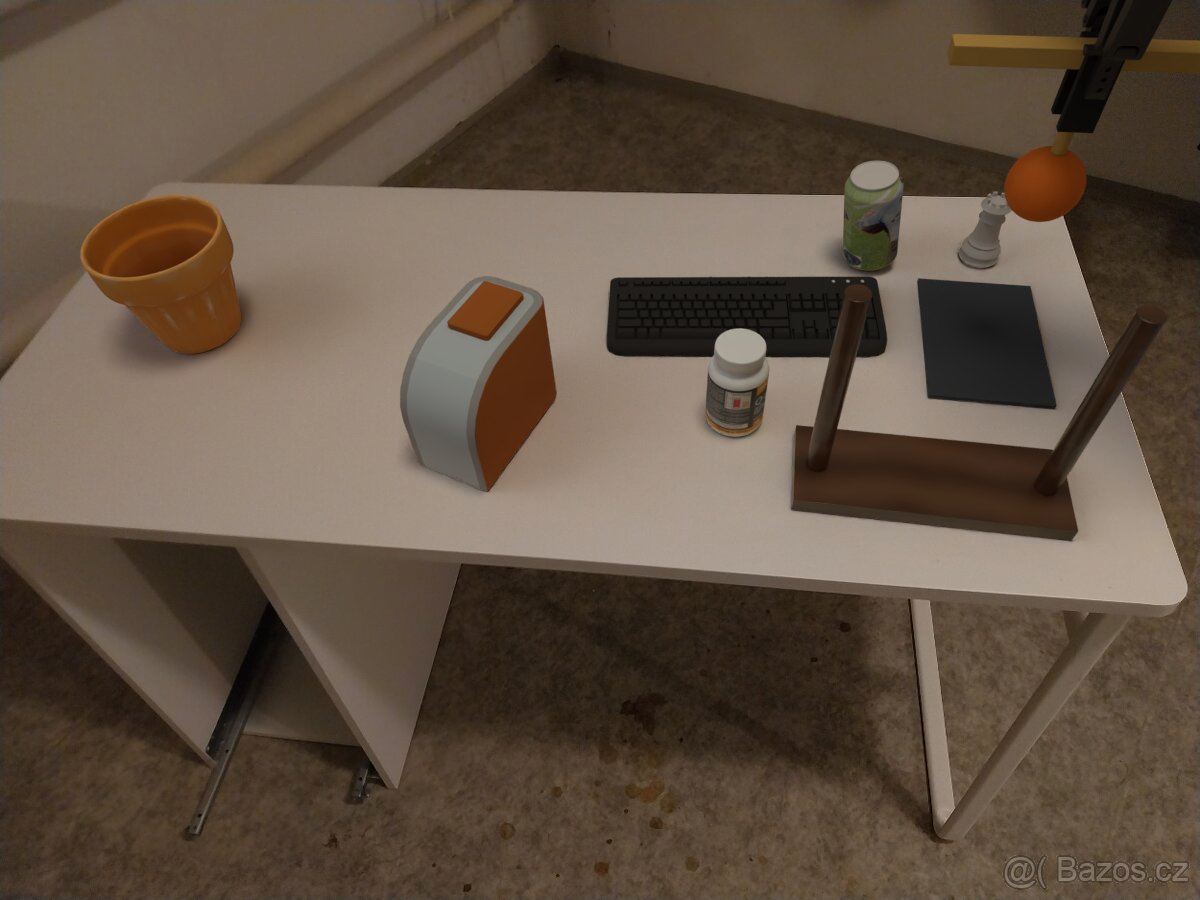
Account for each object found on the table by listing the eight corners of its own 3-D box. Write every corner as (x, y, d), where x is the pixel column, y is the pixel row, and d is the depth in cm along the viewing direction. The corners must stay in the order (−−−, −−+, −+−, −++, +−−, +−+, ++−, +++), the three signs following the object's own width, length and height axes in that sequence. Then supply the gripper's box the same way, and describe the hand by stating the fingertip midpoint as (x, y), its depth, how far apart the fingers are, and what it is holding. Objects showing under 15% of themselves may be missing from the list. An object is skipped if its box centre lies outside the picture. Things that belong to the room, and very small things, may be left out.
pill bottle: (766, 437, 81) (777, 366, 74) (707, 440, 82) (712, 369, 74) (758, 395, 85) (768, 322, 77) (702, 397, 85) (706, 325, 77)
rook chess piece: (994, 246, 98) (1017, 186, 91) (1000, 270, 95) (1024, 211, 89) (954, 244, 98) (974, 185, 92) (959, 269, 95) (980, 209, 89)
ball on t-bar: (1171, 244, 72) (1275, 69, 60) (908, 229, 76) (957, 59, 64) (1153, 201, 76) (1248, 28, 64) (905, 187, 80) (950, 20, 67)
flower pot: (280, 286, 100) (238, 192, 90) (245, 371, 91) (194, 277, 81) (166, 288, 101) (112, 195, 91) (121, 372, 92) (54, 280, 82)
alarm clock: (495, 364, 90) (473, 263, 79) (564, 388, 87) (551, 287, 76) (415, 462, 82) (379, 365, 71) (488, 492, 79) (462, 395, 68)
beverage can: (904, 268, 96) (931, 176, 87) (849, 286, 95) (870, 194, 85) (874, 237, 100) (896, 146, 90) (820, 254, 98) (837, 163, 89)
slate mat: (1055, 409, 82) (1057, 406, 81) (927, 398, 83) (929, 394, 83) (1029, 289, 93) (1030, 285, 92) (917, 281, 94) (918, 278, 94)
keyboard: (606, 356, 90) (605, 342, 88) (611, 289, 96) (610, 275, 95) (888, 357, 87) (892, 343, 86) (873, 288, 94) (876, 274, 92)
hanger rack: (1071, 540, 72) (1200, 361, 55) (791, 510, 76) (830, 332, 59) (1055, 460, 78) (1167, 274, 61) (794, 434, 81) (830, 252, 64)
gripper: (1129, -270, 56) (1011, 73, 74) (1187, -203, 46) (1036, 170, 65) (1252, -273, 54) (1102, 76, 73) (1337, -205, 45) (1140, 176, 64)
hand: (1071, 120), depth 69 cm, fingers closed on ball on t-bar, 2 cm apart
